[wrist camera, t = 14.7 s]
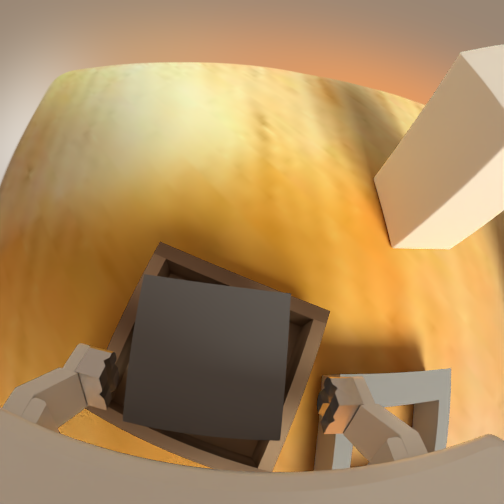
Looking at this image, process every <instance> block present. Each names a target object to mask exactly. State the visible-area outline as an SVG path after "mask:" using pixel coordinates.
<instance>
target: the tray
mask: <svg viewBox="0 0 504 504" xmlns="http://www.w3.org/2000/svg"><path fill="white" fill-rule="evenodd" d="M144 274H147V275H153V276H160V277H167V278H174V279H180V280H187V281H195V282H202V283H209V284H217V285H224V286H232V287H240V288H248V289H256V290H264V291H273V292H280V291H278V290H275V289H273V288H270V287H268V286H265V285H263V284H260V283H258V282H255V281H253V280H250V279H248V278H245V277H243V276H241V275H238V274H236V273H233V272H231V271H228V270H226V269H224V268H221V267H219V266H216V265H214V264H212V263H209V262H207V261H204V260H202V259H200V258H197V257H195V256H192V255H190V254H188V253H185V252H183V251H181V250H178V249H176V248H174V247H171V246H169V245H167V244H164V243H162V242H160V243H159V245H158V246H157V248H156V250H155V252H154V254H153V256H152V258H151V259H150V261H149V263H148V265H147V267H146V269H145V271H144V273H143V275H142V277H141V279H140V281H139V283H138V285H137V286H136V288H135V290H134V292H133V294H132V296H131V299H130V301H129V303H128V305H127V307H126V309H125V311H124V313H123V315H122V317H121V319H120V321H119V323H118V326H117V328H116V330H115V332H114V334H113V336H112V339H111V341H110V343H109V345H108V348H107V350H109V351H113V352H115V353H116V358H117V360H116V362H115V365H116V366H117V367H118V371H119V379H118V384H117V387H116V389H115V390H114V391H113V392H111V396H112V399H111V402H110V404H109V407H108V409H107V410H104V409H100V408H96V407H92V406H88V405H87V407H86V408H85V409H87V410H89V411H90V412H92V413H94V414H95V415H97V416H99V417H101V418H102V419H104V420H106V421H108V422H109V423H111V424H113V425H115V426H117V427H119V428H121V429H122V430H124V431H126V432H128V433H130V434H132V435H134V436H136V437H138V438H140V439H142V440H144V441H147V442H149V443H151V444H153V445H155V446H157V447H160V448H162V449H164V450H167V451H169V452H171V453H174V454H176V455H179V456H181V457H184V458H186V459H189V460H191V461H194V462H197V463H199V464H202V465H205V466H208V467H210V468H213V469H218V470H230V471H247V472H272V470H273V468H274V466H275V463H276V461H277V459H278V456H279V454H280V452H281V449H282V447H283V444H284V442H285V440H286V437H287V435H288V432H289V430H290V427H291V425H292V422H293V419H294V417H295V414H296V412H297V409H298V406H299V404H300V401H301V398H302V395H303V393H304V390H305V387H306V384H307V382H308V379H309V376H310V373H311V370H312V367H313V364H314V361H315V358H316V355H317V352H318V349H319V346H320V343H321V339H322V336H323V333H324V330H325V327H326V323H327V320H328V317H329V313H330V311H328V310H326V309H323V308H321V307H318V306H316V305H313V304H310V303H308V302H305V301H303V300H300V299H298V298H295V297H293V296H291V299H290V318H289V335H288V351H287V365H286V379H285V392H284V404H283V415H282V426H281V437H280V441H272V440H247V439H232V438H221V437H211V436H202V435H194V434H187V433H180V432H174V431H168V430H162V429H157V428H151V427H146V426H142V425H137V424H132V423H128V422H124V421H123V410H124V400H125V390H126V381H127V373H128V365H129V358H130V351H131V344H132V338H133V331H134V325H135V319H136V314H137V308H138V303H139V297H140V292H141V287H142V282H143V277H144ZM281 293H283V292H281Z"/></svg>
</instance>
